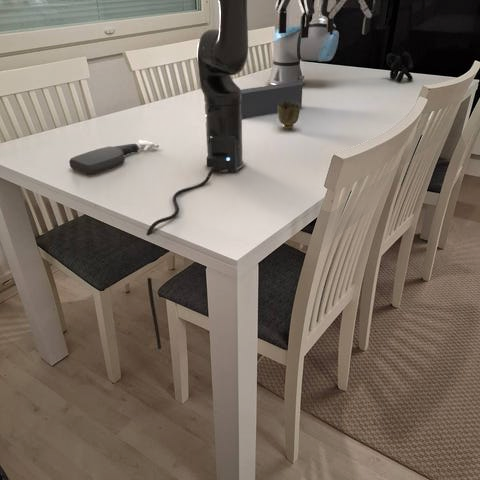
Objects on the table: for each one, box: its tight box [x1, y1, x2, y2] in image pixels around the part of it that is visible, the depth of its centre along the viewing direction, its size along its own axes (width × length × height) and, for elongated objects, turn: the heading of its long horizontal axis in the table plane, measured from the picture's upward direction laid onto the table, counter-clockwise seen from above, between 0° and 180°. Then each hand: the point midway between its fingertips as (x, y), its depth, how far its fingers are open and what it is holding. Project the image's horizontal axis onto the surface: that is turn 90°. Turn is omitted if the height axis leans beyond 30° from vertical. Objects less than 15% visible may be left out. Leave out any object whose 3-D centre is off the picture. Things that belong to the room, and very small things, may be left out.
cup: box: [277, 101, 301, 131], centre depth 143 cm, size 8×7×8 cm
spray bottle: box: [68, 139, 160, 177], centre depth 124 cm, size 3×11×24 cm
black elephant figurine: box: [385, 51, 414, 83], centre depth 198 cm, size 11×10×15 cm
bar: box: [240, 82, 304, 120], centre depth 160 cm, size 26×5×9 cm, turn 117°
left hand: (347, 34), depth 115 cm, fingers open, 8 cm apart
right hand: (292, 35), depth 152 cm, fingers open, 13 cm apart
